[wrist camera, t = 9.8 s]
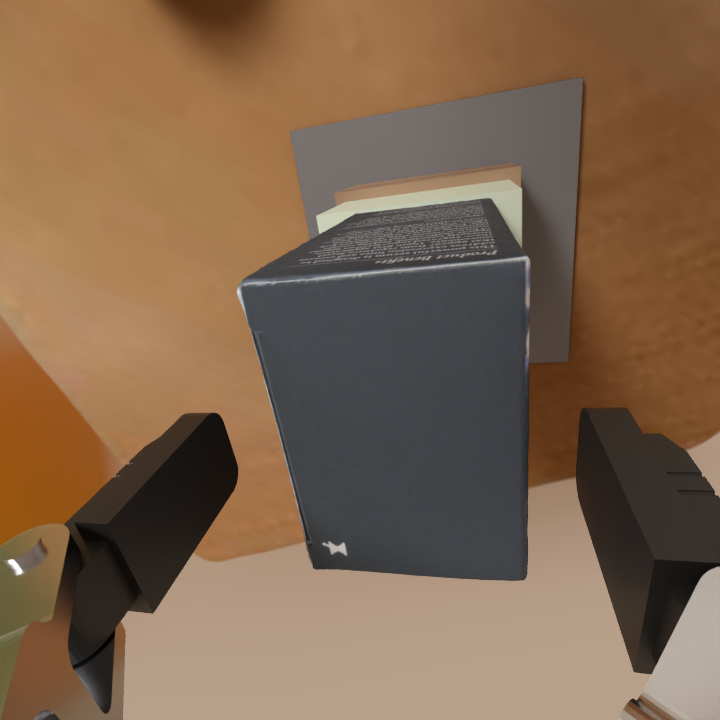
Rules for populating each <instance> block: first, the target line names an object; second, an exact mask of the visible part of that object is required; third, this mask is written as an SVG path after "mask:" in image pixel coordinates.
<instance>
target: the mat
mask: <svg viewBox="0 0 720 720" xmlns="http://www.w3.org/2000/svg"><path fill="white" fill-rule="evenodd" d="M582 91H583V77H580V78H575V79H570V80H564V81H559V82H553V83H548V84H543V85H537V86H532V87H526V88H521V89H516V90H510V91H505V92H499V93H494V94H488V95H483V96H478V97H472V98H467V99H461V100H456V101H451V102H445V103H440V104H434V105H429V106H424V107H418V108H413V109H407V110H402V111H397V112H391V113H386V114H380V115H375V116H370V117H364V118H359V119H353V120H348V121H342V122H337V123H332V124H326V125H321V126H315V127H310V128H305V129H299V130H294V131H290V135H291V140H292V145H293V151H294V156H295V161H296V167H297V172H298V177H299V183H300V188H301V193H302V199H303V204H304V209H305V215H306V220H307V225H308V231H309V236H310V240H311V239H313V238H314V237H316V236H318V235H319V230H318V224H317V218H316V216H317V215H319V214H321V213H323V212H325V211H327V210H330V209H332V208H334V207H336V203H335V197H334V193H336V192H338V191H341V190H344V189H347V188H349V187H352V186H355V185H361V184H368V183H375V182H381V181H388V180H395V179H402V178H409V177H416V176H422V175H429V174H436V173H443V172H450V171H457V170H464V169H470V168H477V167H484V166H491V165H498V164H505V163H513V164H516V165H519V166H521V188H522V250H523V251H524V252H525V253H526V254H527V256H528V257H529V259H530V324H529V363H550V362H568V357H569V338H570V319H571V300H572V281H573V262H574V243H575V224H576V205H577V186H578V167H579V148H580V129H581V110H582Z"/></svg>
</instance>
